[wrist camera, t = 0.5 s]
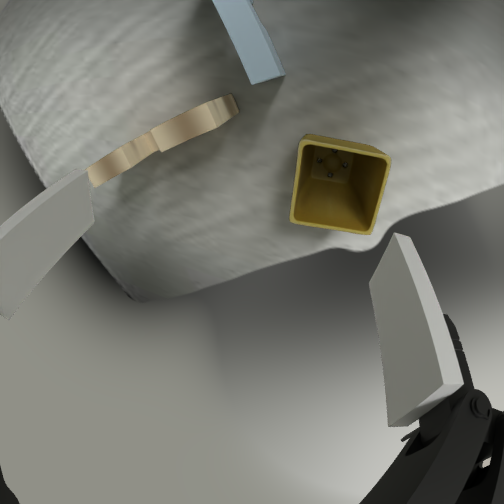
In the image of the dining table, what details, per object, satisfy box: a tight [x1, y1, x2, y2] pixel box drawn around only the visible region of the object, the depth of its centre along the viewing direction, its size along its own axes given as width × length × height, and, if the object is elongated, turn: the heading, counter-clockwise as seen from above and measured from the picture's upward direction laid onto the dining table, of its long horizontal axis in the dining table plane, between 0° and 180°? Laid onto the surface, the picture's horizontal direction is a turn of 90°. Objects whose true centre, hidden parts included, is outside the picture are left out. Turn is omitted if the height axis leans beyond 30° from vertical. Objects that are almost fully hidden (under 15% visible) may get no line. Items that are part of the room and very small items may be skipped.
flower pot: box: [289, 134, 391, 235], centre depth 30 cm, size 9×9×9 cm
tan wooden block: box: [85, 94, 239, 188], centre depth 29 cm, size 16×2×10 cm, turn 112°
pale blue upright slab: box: [212, 0, 286, 85], centre depth 20 cm, size 16×2×10 cm, turn 22°
